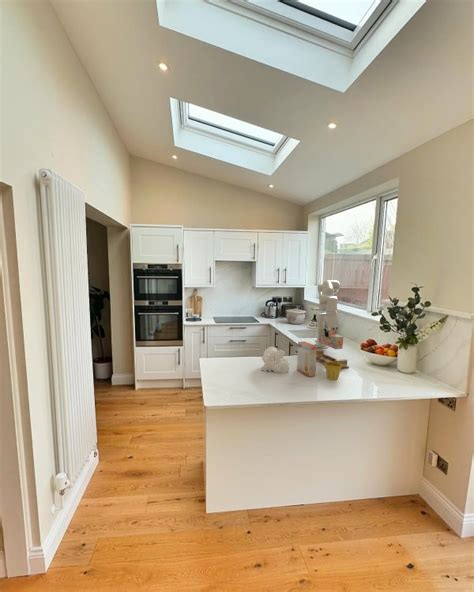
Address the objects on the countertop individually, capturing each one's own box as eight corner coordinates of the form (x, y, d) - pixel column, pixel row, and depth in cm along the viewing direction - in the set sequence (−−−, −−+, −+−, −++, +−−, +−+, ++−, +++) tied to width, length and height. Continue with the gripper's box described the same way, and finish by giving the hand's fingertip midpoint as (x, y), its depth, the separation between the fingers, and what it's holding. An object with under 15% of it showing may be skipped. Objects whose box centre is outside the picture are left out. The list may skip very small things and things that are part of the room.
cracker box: (315, 376, 198) (317, 345, 196) (308, 377, 195) (310, 346, 193) (303, 369, 210) (304, 340, 208) (296, 370, 208) (297, 341, 206)
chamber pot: (306, 325, 375) (307, 309, 373) (284, 324, 379) (285, 308, 377) (305, 322, 402) (306, 307, 400) (285, 321, 407) (285, 306, 405)
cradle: (310, 357, 238) (310, 350, 238) (321, 356, 243) (322, 349, 243) (336, 370, 211) (336, 361, 210) (348, 368, 216) (349, 359, 215)
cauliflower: (299, 360, 201) (276, 346, 196) (284, 386, 199) (260, 372, 195) (288, 354, 219) (267, 341, 215) (274, 377, 217) (252, 364, 213)
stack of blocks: (342, 349, 216) (343, 332, 215) (335, 349, 214) (336, 333, 213) (324, 342, 236) (325, 326, 235) (318, 342, 234) (319, 327, 233)
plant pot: (338, 382, 187) (339, 367, 186) (322, 379, 193) (323, 364, 192) (342, 377, 196) (343, 363, 195) (326, 374, 202) (327, 360, 201)
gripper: (336, 312, 230) (335, 334, 232) (318, 312, 223) (317, 336, 225) (343, 313, 223) (342, 336, 225) (325, 314, 216) (324, 338, 218)
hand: (330, 336), depth 225 cm, fingers closed on stack of blocks, 6 cm apart
